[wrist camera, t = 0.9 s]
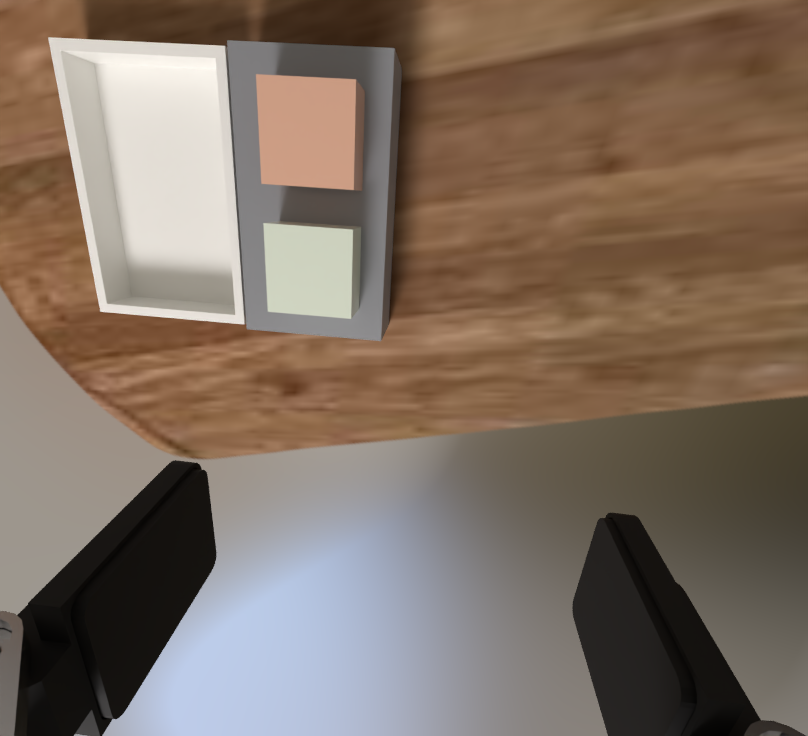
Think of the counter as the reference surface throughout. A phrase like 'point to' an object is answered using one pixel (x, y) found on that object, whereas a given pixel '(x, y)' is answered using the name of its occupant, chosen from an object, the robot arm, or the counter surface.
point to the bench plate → (319, 205)
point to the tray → (155, 175)
